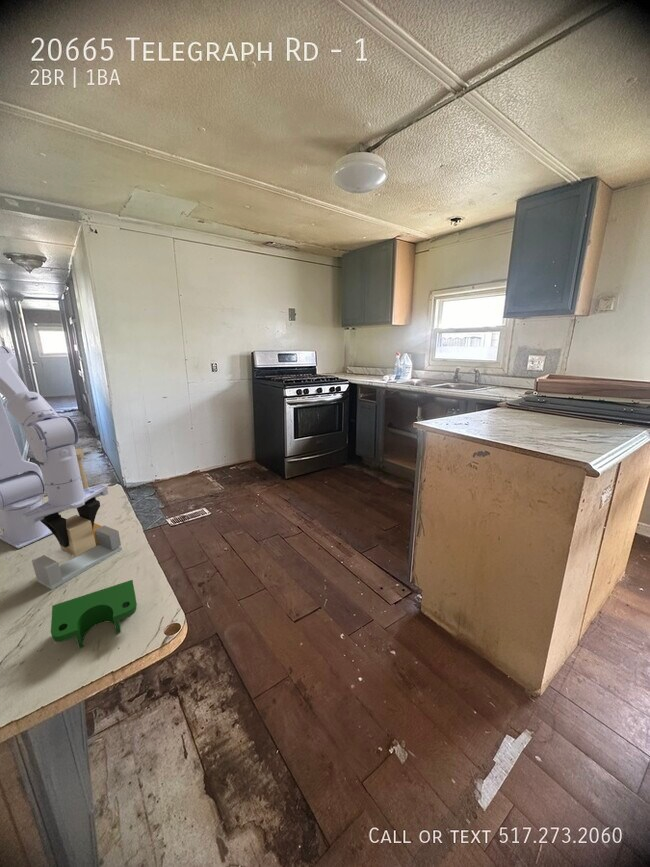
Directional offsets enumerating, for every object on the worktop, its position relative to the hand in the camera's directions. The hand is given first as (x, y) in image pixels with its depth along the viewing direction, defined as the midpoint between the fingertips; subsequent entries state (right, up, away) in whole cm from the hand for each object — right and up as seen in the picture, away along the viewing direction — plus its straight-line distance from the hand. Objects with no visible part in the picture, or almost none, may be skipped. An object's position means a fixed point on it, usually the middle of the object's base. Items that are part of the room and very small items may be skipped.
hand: (76, 539), depth 70 cm
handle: (-19, +2, +28) cm, 34 cm away
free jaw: (0, -4, +8) cm, 9 cm away
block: (0, -2, +1) cm, 2 cm away
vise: (0, -6, +2) cm, 6 cm away
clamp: (+14, -11, -13) cm, 22 cm away
